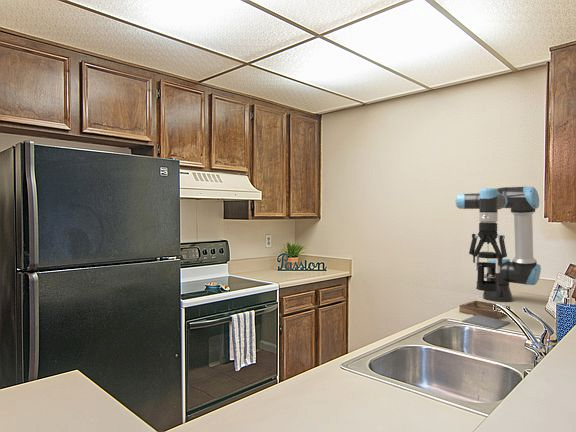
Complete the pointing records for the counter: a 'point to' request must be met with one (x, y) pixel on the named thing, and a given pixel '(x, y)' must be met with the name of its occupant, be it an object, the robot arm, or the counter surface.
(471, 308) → the cradle
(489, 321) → the mat
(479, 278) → the french press
